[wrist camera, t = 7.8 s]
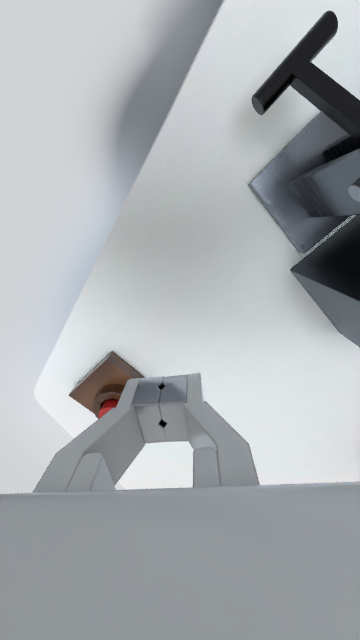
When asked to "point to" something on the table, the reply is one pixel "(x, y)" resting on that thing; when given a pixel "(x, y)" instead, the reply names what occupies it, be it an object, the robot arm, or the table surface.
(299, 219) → the lever bracket
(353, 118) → the lever
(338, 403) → the table surface
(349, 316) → the toaster
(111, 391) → the brown button base
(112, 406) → the button
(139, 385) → the robot arm
